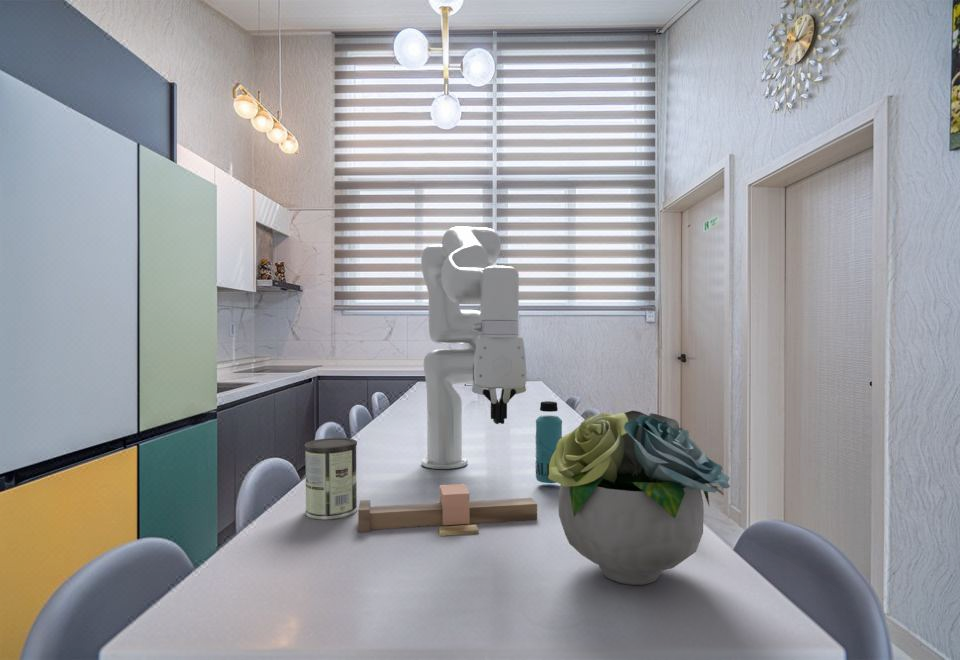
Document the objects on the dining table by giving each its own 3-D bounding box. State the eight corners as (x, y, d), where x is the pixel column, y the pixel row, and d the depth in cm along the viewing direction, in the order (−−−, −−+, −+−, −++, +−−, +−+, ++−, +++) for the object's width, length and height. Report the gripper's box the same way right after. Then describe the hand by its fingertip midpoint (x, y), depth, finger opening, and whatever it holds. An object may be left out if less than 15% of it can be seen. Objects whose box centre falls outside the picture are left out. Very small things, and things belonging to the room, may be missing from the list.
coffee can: (328, 501, 121) (327, 436, 121) (367, 507, 117) (367, 439, 117) (293, 515, 112) (293, 444, 112) (334, 523, 107) (334, 449, 107)
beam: (360, 513, 113) (360, 493, 113) (525, 504, 118) (525, 485, 118) (357, 541, 98) (357, 518, 98) (545, 529, 103) (545, 507, 103)
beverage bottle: (562, 482, 135) (562, 399, 135) (563, 490, 128) (563, 403, 128) (535, 482, 136) (535, 399, 136) (535, 489, 129) (534, 403, 129)
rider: (439, 513, 111) (439, 485, 111) (464, 512, 112) (464, 483, 112) (443, 525, 104) (443, 494, 105) (469, 523, 105) (469, 493, 105)
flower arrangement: (659, 537, 99) (659, 399, 99) (758, 604, 75) (757, 421, 75) (525, 549, 94) (524, 403, 94) (584, 625, 70) (583, 429, 70)
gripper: (464, 330, 105) (463, 427, 105) (541, 330, 107) (540, 425, 108) (458, 329, 112) (458, 420, 113) (531, 329, 115) (530, 418, 115)
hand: (498, 422), depth 110 cm, fingers closed
